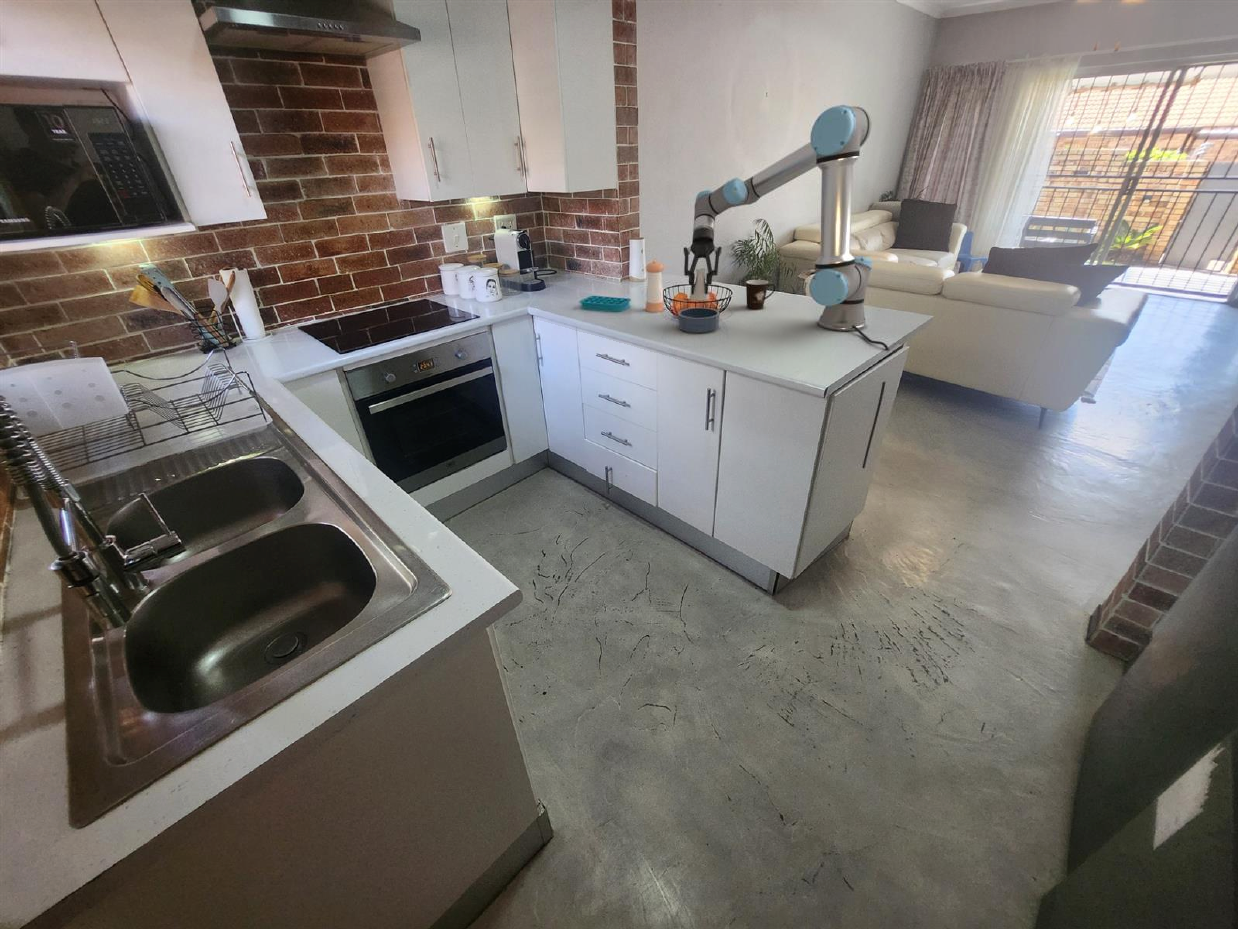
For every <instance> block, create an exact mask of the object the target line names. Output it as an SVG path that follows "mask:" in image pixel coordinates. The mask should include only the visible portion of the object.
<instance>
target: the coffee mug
mask: <svg viewBox="0 0 1238 929" xmlns="http://www.w3.org/2000/svg"><path fill="white" fill-rule="evenodd" d="M770 286H772V287H773V290H772V291H771V293H769V294H768V295H767V291H768V288H769V287H770ZM745 289H746V290H745V292H746V309H748V310H751V311H759V310H763V309H764V305H765V301H766V300H767V299H768V298H769V297H771V296H772V295H773V294H774V293H775V291H776V285H775V284H774V283H769V280H765V279H750V280H747V281H745Z"/></svg>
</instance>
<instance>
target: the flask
mask: <svg viewBox="0 0 1238 929" xmlns="http://www.w3.org/2000/svg"><path fill="white" fill-rule="evenodd" d="M695 272H696V276H695V281H694V294H691V293H690V296H689V299H690V300H691V301H698V302H700V301H708V300H710V299H711V296H710V294H709V292H708V294H706V276H705V272H706V269H705V268H695Z"/></svg>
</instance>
